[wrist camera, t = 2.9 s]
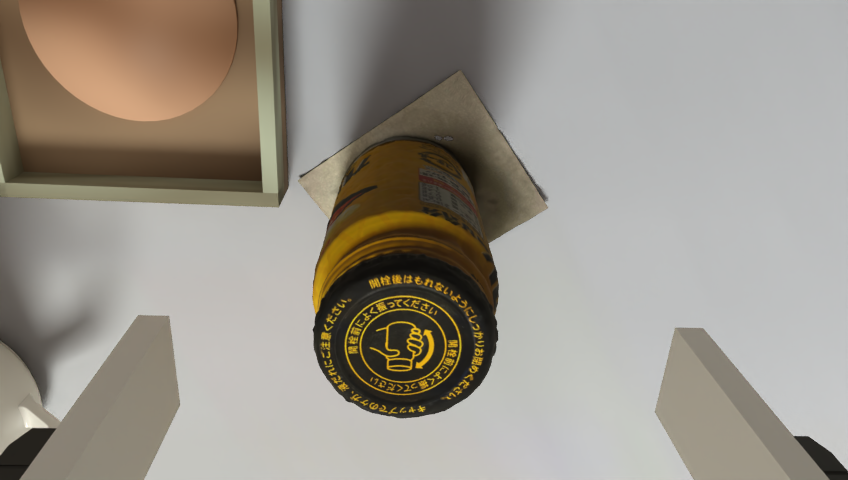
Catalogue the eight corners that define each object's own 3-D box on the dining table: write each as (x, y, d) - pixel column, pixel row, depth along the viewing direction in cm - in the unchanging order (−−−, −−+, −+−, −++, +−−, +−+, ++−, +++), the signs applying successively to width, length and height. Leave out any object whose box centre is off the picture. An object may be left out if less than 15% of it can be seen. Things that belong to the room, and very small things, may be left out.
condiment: (298, 179, 28) (230, 321, 17) (460, 68, 26) (498, 149, 15) (393, 298, 31) (386, 488, 20) (546, 205, 29) (632, 357, 18)
